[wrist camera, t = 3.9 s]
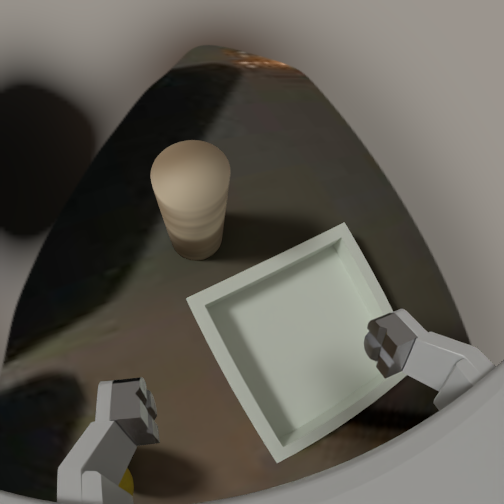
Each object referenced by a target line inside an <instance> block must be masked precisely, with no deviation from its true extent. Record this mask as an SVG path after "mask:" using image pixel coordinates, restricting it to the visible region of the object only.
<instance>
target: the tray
mask: <svg viewBox="0 0 504 504" xmlns="http://www.w3.org/2000/svg"><path fill="white" fill-rule="evenodd" d="M186 300H187V302H188V304H189V306H190V308H191V310H192V312H193V315H194V317H195V319H196V321H197V323H198V325H199V327H200V329H201V331H202V333H203V335H204V337H205V339H206V341H207V343H208V345H209V346H210V348H211V350H212V352H213V354H214V356H215V358H216V360H217V362H218V364H219V365H220V367H221V369H222V371H223V373H224V375H225V377H226V378H227V380H228V382H229V384H230V386H231V387H232V389H233V391H234V393H235V395H236V396H237V398H238V400H239V402H240V403H241V405H242V407H243V409H244V410H245V412H246V414H247V415H248V417H249V419H250V420H251V422H252V424H253V425H254V427H255V429H256V430H257V432H258V434H259V435H260V437H261V439H262V440H263V442H264V443H265V445H266V447H267V448H268V450H269V451H270V453H271V454H272V456H273V458H274V459H275V461H276V462H277V463H278V462H280V461H282V460H284V459H286V458H288V457H290V456H292V455H293V454H295V453H297V452H299V451H300V450H302V449H304V448H306V447H307V446H309V445H311V444H313V443H314V442H316V441H317V440H319V439H321V438H322V437H324V436H326V435H327V434H329V433H330V432H332V431H333V430H335V429H336V428H338V427H339V426H341V425H342V424H344V423H345V422H347V421H348V420H350V419H351V418H353V417H354V416H356V415H357V414H358V413H360V412H361V411H362V410H364V409H365V408H367V407H368V406H369V405H371V404H372V403H373V402H375V401H376V400H377V399H378V398H380V397H381V396H382V395H384V394H385V393H386V392H387V391H389V390H390V389H391V388H392V387H394V386H395V385H396V384H397V383H398V382H400V381H401V380H402V379H403V378H404V377H405V376H407V374H405V373H403V372H402V371H401V372H399V373H397V374H394V375H392V376H390V377H388V378H384V377H383V375H382V374H381V373H380V372H379V370H378V369H377V368H376V361H374V360H371V359H370V358H369V357H368V355H367V354H366V352H365V349H364V339H365V336H366V335H367V333H368V332H369V330H368V329H367V326H368V323H369V322H370V320H372V319H375V318H378V317H380V316H383V315H386V314H388V313H391V312H393V310H392V308H391V306H390V304H389V302H388V300H387V298H386V296H385V294H384V292H383V290H382V288H381V287H380V285H379V283H378V281H377V279H376V277H375V275H374V273H373V272H372V270H371V268H370V266H369V264H368V262H367V261H366V259H365V257H364V255H363V253H362V252H361V250H360V248H359V246H358V245H357V243H356V241H355V239H354V238H353V236H352V234H351V233H350V231H349V229H348V228H347V226H346V224H345V222H344V223H342V224H340V225H338V226H336V227H334V228H332V229H330V230H328V231H326V232H324V233H322V234H320V235H318V236H316V237H314V238H312V239H309V240H307V241H305V242H303V243H301V244H299V245H297V246H295V247H293V248H291V249H289V250H287V251H285V252H283V253H281V254H278V255H276V256H274V257H272V258H270V259H268V260H266V261H264V262H262V263H260V264H258V265H256V266H253V267H251V268H249V269H247V270H245V271H243V272H241V273H239V274H237V275H235V276H232V277H230V278H228V279H226V280H224V281H222V282H220V283H218V284H215V285H213V286H211V287H209V288H207V289H205V290H203V291H201V292H198V293H196V294H194V295H192V296H190V297H188V298H186Z"/></svg>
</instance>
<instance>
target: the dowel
mask: <svg viewBox="0 0 504 504" xmlns="http://www.w3.org/2000/svg"><path fill="white" fill-rule="evenodd" d="M229 180H230V165H229V162H228V160H227V158H226V156H225V155H224V153H223V152H222V151H221V150H220V149H218V148H217V147H215V146H214V145H212V144H210V143H207V142H203V141H197V140H188V141H182V142H178V143H176V144H173V145H171V146H169V147H168V148H166V149H165V150H164V151H162V152H161V153H160V154H159V156H158V157H157V158H156V160H155V161H154V163H153V166H152V169H151V183H152V186H153V189H154V192H155V195H156V198H157V201H158V204H159V207H160V210H161V213H162V216H163V219H164V222H165V225H166V228H167V231H168V234H169V237H170V239H171V242H172V245H173V247H174V249H175V250H176V252H177V253H178V254H179V255H181V256H182V257H184V258H186V259H189V260H194V261H198V260H204V259H207V258H209V257H211V256H212V255H213V254H214V253H215V252H216V251H217V250H218V249H219V247H220V245H221V242H222V236H223V228H224V219H225V211H226V203H227V196H228V188H229Z"/></svg>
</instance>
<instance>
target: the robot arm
mask: <svg viewBox="0 0 504 504" xmlns="http://www.w3.org/2000/svg"><path fill="white" fill-rule="evenodd" d="M367 329H368V330H369V332H368V333H367V335H366V336H365V339H364V349H365V352H366V354H367V355H368V357H369V358H370V359H371V360H374V361H376V368H377V369H378V370H379V372H380V373H381V374H382V375H383V377H384V378H388V377H390V376H392V375H394V374H397V373H399V372H401V371H402V372H403V373H405V374H407V375H408V376H410V377H412V378H414V379H416V380H418V381H420V382H422V383H424V384H426V385H427V386H429V387H431V388H433V389H435V390H437V391H439V393H438V394H437V396H436V397H435V399H434V402H433V403H434V404H435V406H436V407H437V408H438V410H439V411H438V412H437V413H435V414H434V415H432V416H431V417H429V418H428V419H426V420H424V421H423V422H421V423H420V424H418V425H416V426H415V427H413V428H411V429H410V430H408V431H406V432H404V433H403V434H401V435H399V436H397V437H396V438H394V439H392V440H390V441H388V442H386V443H384V444H382V445H380V446H378V447H377V448H374V449H372V450H370V451H368V452H366V453H364V454H362V455H360V456H358V457H356V458H353V459H351V460H349V461H346V462H344V463H342V464H339V465H337V466H335V467H332V468H330V469H327V470H324V471H322V472H319V473H316V474H314V475H311V476H308V477H305V478H302V479H299V480H296V481H293V482H290V483H287V484H283V485H280V486H276V487H273V488H269V489H266V490H262V491H258V492H254V493H249V494H245V495H240V496H236V497H231V498H226V499H220V500H214V501H208V502H201V503H194V504H504V360H503V361H502V362H501V363H500V364H499V365H498V366H495V365H494V364H493V363H492V362H491V361H490V360H489V359H488V358H487V357H486V356H485V355H484V354H483V353H482V352H481V351H480V350H479V349H478V348H477V347H474V346H471V345H468V344H465V343H462V342H460V341H457V340H454V339H451V338H448V337H445V336H442V335H439V334H436V333H433V332H427V331H426V330H425V329H424V328H423V327H422V326H421V325H420V324H419V323H418V322H417V321H416V320H415V319H414V318H413V317H412V316H411V315H410V314H409V313H408V312H407V311H406V310H404V309H399V310H397V311H394V312H391V313H388V314H386V315H383V316H380V317H378V318H375V319H372V320H370V322H369V323H368V326H367ZM156 417H157V411H156V405H155V401H154V398H153V396H152V394H151V392H150V391H149V390H147V389H146V383H145V381H144V379H143V378H132V379H123V380H113V381H102V382H100V384H99V386H98V395H97V406H96V420H95V422H91V424H90V425H89V426H88V428H87V429H86V430H85V432H84V433H83V434H82V436H81V437H80V439H79V440H78V441H77V443H76V444H75V445H74V447H73V448H72V450H71V451H70V452H69V454H68V455H67V456H66V458H65V459H64V461H63V462H62V463H61V465H60V466H59V468H58V481H57V502H51V501H45V500H40V499H35V498H30V497H25V496H21V495H17V494H13V493H9V492H5V491H2V490H0V504H134V503H133V496H132V495H131V494H129V493H128V492H126V491H125V490H123V489H122V488H120V487H119V486H118V485H119V483H120V481H121V479H122V477H123V475H124V473H125V471H126V469H127V467H128V465H129V463H130V460H131V458H132V456H133V454H134V452H135V450H136V448H137V446H139V445H148V444H155V443H160V441H159V431H158V426H157V424H156V423H155V421H154V420H155V418H156Z"/></svg>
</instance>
